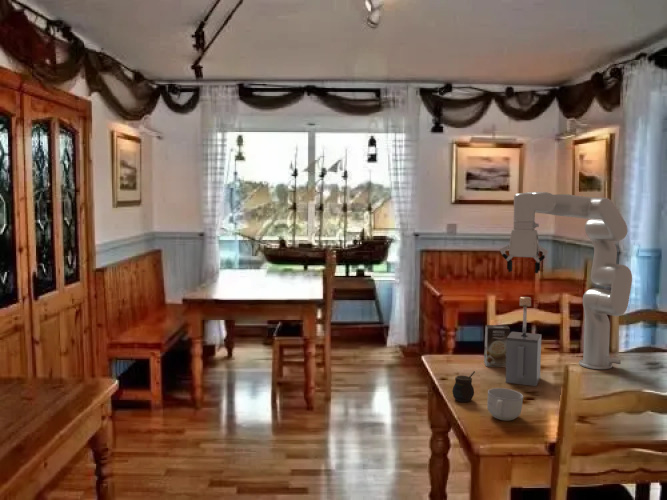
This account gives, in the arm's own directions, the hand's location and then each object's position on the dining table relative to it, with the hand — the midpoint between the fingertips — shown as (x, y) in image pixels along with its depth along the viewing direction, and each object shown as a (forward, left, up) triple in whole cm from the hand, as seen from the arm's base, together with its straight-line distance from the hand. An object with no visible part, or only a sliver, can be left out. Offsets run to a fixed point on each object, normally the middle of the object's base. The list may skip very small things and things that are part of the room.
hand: (523, 272), depth 233 cm
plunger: (-1, +1, -27) cm, 27 cm away
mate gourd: (+14, +33, -41) cm, 54 cm away
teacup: (-1, +45, -41) cm, 61 cm away
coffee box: (+12, -16, -41) cm, 46 cm away
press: (-1, +3, -41) cm, 41 cm away
